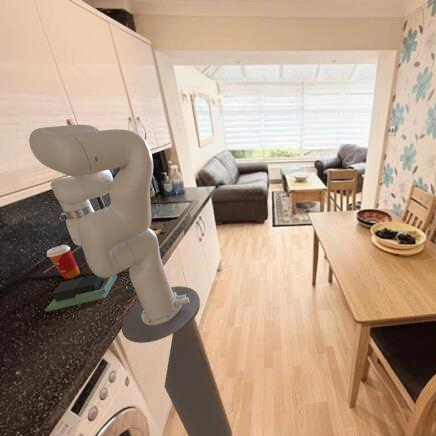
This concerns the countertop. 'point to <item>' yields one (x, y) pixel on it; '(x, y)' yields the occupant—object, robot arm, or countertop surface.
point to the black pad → (88, 284)
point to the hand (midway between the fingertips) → (102, 256)
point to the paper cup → (64, 261)
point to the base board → (68, 296)
